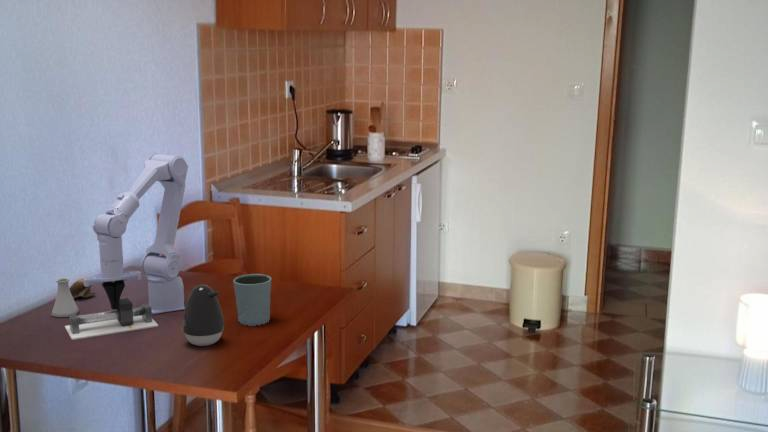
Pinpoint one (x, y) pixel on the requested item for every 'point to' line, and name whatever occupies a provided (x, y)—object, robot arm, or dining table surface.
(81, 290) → the mushroom
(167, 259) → the robot arm
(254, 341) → the dining table surface
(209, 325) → the dark grey penguin toy
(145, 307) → the linear slide rail
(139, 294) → the dining table surface
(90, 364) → the dining table surface
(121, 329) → the base board
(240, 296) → the grey-green cup
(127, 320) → the dark grey sliding block
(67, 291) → the flask
